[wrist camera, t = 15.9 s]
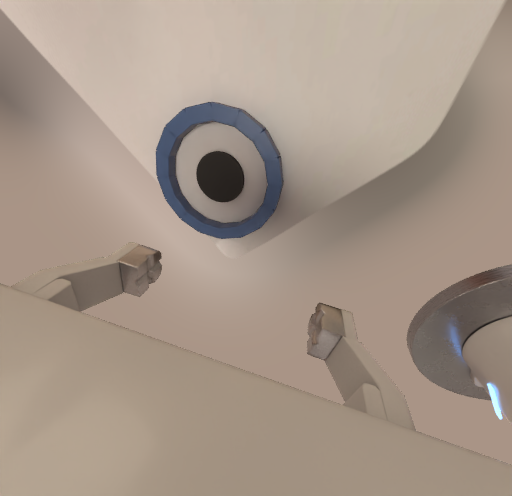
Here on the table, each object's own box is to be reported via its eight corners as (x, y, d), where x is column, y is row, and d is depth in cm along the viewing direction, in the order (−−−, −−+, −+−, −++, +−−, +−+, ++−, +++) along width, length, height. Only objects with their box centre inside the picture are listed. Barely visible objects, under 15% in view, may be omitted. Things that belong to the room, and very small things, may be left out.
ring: (300, 124, 23) (299, 125, 21) (265, 246, 31) (263, 252, 29) (162, 88, 23) (153, 86, 22) (164, 215, 32) (157, 220, 30)
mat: (248, 158, 25) (247, 159, 25) (239, 206, 29) (238, 207, 28) (199, 145, 26) (198, 145, 25) (196, 194, 29) (194, 195, 29)
